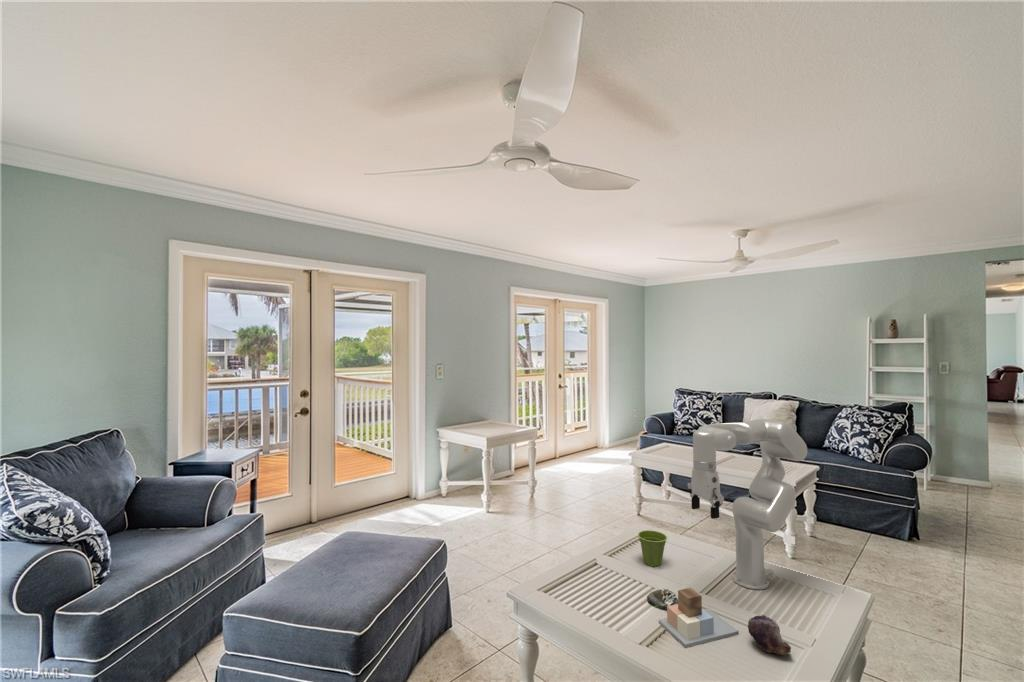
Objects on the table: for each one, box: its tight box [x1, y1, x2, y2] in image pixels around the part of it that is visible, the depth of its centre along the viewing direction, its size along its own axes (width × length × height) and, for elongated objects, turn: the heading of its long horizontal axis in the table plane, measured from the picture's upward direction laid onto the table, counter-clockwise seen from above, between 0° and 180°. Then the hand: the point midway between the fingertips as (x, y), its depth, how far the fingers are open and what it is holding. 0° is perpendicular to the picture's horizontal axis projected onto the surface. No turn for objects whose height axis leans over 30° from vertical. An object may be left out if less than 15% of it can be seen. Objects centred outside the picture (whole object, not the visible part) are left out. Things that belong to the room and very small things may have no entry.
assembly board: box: [658, 608, 740, 649], centre depth 146 cm, size 20×13×1 cm, turn 108°
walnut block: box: [677, 587, 703, 618], centre depth 146 cm, size 5×5×6 cm
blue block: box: [695, 608, 714, 636], centre depth 144 cm, size 5×5×5 cm
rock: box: [747, 614, 792, 656], centre depth 137 cm, size 12×9×10 cm
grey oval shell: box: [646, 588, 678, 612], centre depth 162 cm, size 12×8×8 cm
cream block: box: [677, 614, 700, 640], centre depth 142 cm, size 5×5×5 cm
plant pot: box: [637, 529, 668, 567], centre depth 191 cm, size 12×12×11 cm
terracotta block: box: [666, 604, 684, 630], centre depth 147 cm, size 5×5×5 cm
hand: (705, 513), depth 164 cm, fingers open, 9 cm apart
